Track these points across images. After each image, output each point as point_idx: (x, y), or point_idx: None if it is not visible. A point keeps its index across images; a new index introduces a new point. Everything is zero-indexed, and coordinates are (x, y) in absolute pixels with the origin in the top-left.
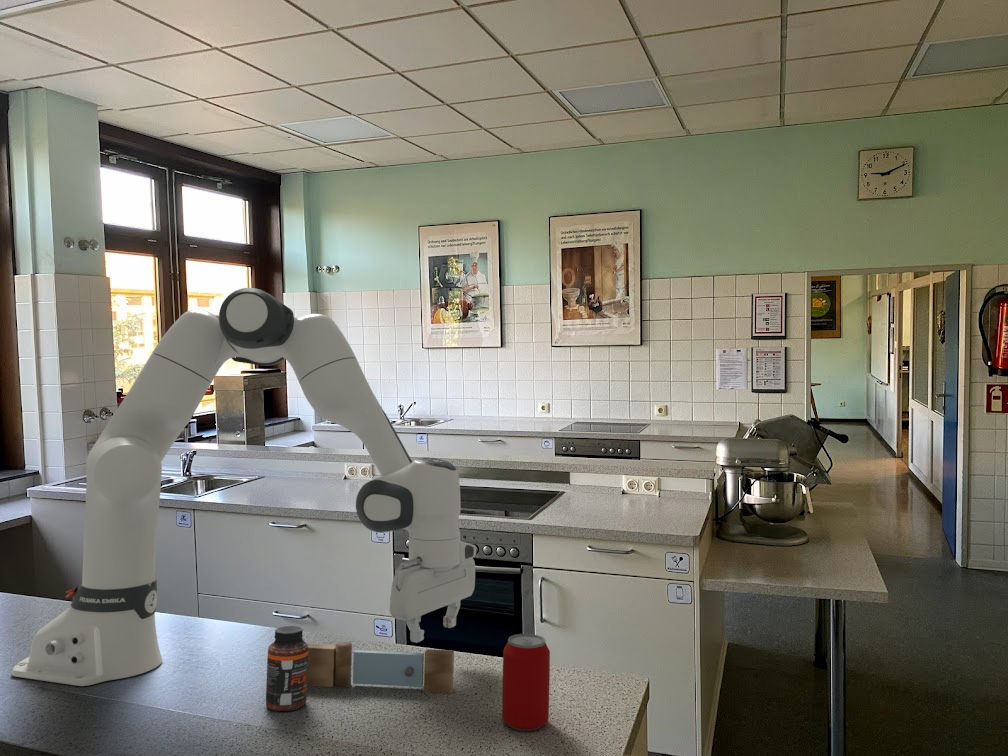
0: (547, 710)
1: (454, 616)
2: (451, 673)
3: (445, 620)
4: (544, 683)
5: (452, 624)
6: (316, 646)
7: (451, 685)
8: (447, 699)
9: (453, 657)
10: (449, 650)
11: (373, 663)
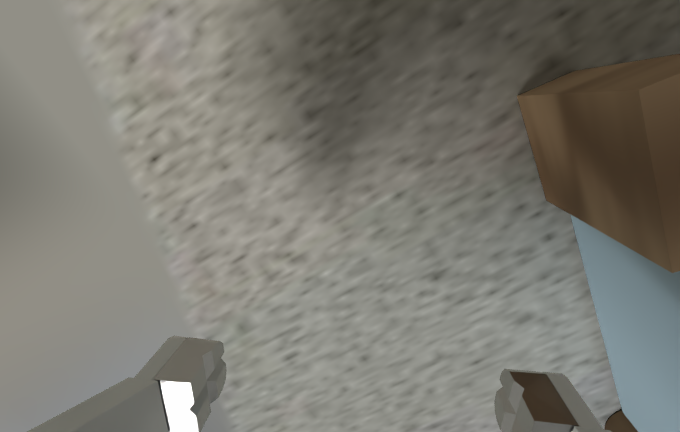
0: None
1: (152, 382)
2: (637, 62)
3: (207, 402)
4: None
5: (201, 347)
6: None
7: (591, 69)
8: (655, 42)
9: (620, 85)
10: (650, 121)
11: None
